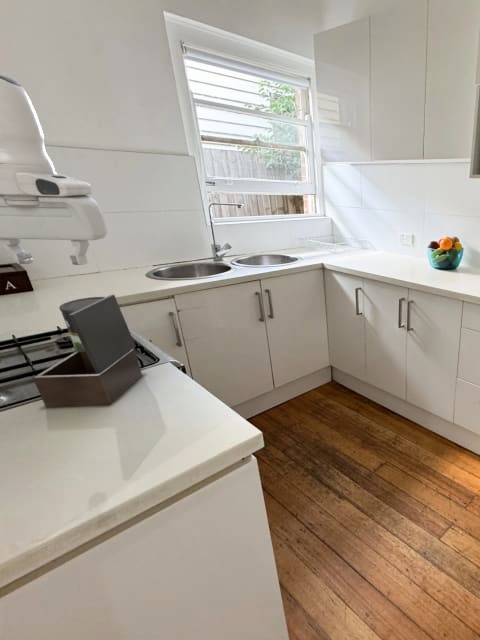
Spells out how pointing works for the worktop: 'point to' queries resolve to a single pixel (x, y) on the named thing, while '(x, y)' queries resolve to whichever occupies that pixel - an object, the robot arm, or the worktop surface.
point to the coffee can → (71, 308)
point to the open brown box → (86, 381)
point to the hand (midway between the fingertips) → (53, 263)
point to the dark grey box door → (103, 332)
